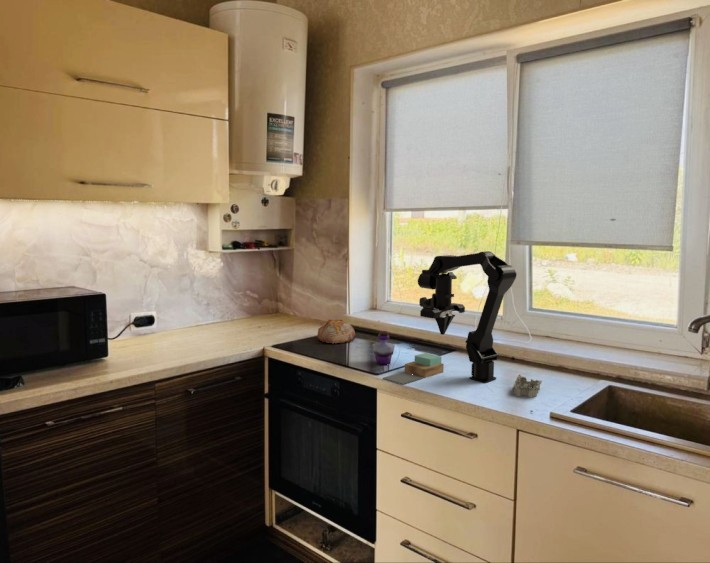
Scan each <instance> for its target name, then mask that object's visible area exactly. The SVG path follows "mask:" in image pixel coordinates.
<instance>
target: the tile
mask: <svg viewBox="0 0 710 563" xmlns="http://www.w3.org/2000/svg"><path fill="white" fill-rule="evenodd" d="M414 361H415V363H419V364H423V365H427V366H433V365H437V364H440V363H442V356H441V355H437V354H433V353H428V352H423V353H421V354H420V353H419V354H415V355H414Z"/></svg>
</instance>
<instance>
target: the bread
mask: <svg viewBox="0 0 710 563" xmlns="http://www.w3.org/2000/svg"><path fill="white" fill-rule="evenodd" d="M355 338H356V332H355V329H354V327H353V326H352V325H351V323H348V322H347V321H344V320H343V319H328V320H327V321H326V322H325V323H323V324H322V325H321V326H320V327H319V328H318V330H317V340H318V339H319V340H320V341H322V342H326V343H332V344H331V345H338V344H337V343H340V344H345V342H346V343H352V342H354V340H355ZM319 340H318V341H319ZM320 341H319V342H320ZM351 341H352V342H351ZM322 342H321V343H322ZM326 343H325V344H326ZM334 343H335V344H334Z"/></svg>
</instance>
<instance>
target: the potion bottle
mask: <svg viewBox="0 0 710 563" xmlns="http://www.w3.org/2000/svg"><path fill="white" fill-rule="evenodd" d="M377 339H378V340H379V342H376V343H373V344H372V349H373V353H374V356H375V361H376V362H375V363H377V364H380V365H379V366H388V365H387V364H390V363H391V361H392V357H393V355H394V351H395V344H394V343H390V342H388V340H390V334H389V331H387V330H380V331H379V332H378V335H377ZM377 364H376V365H377ZM390 365H391V364H390Z"/></svg>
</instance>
